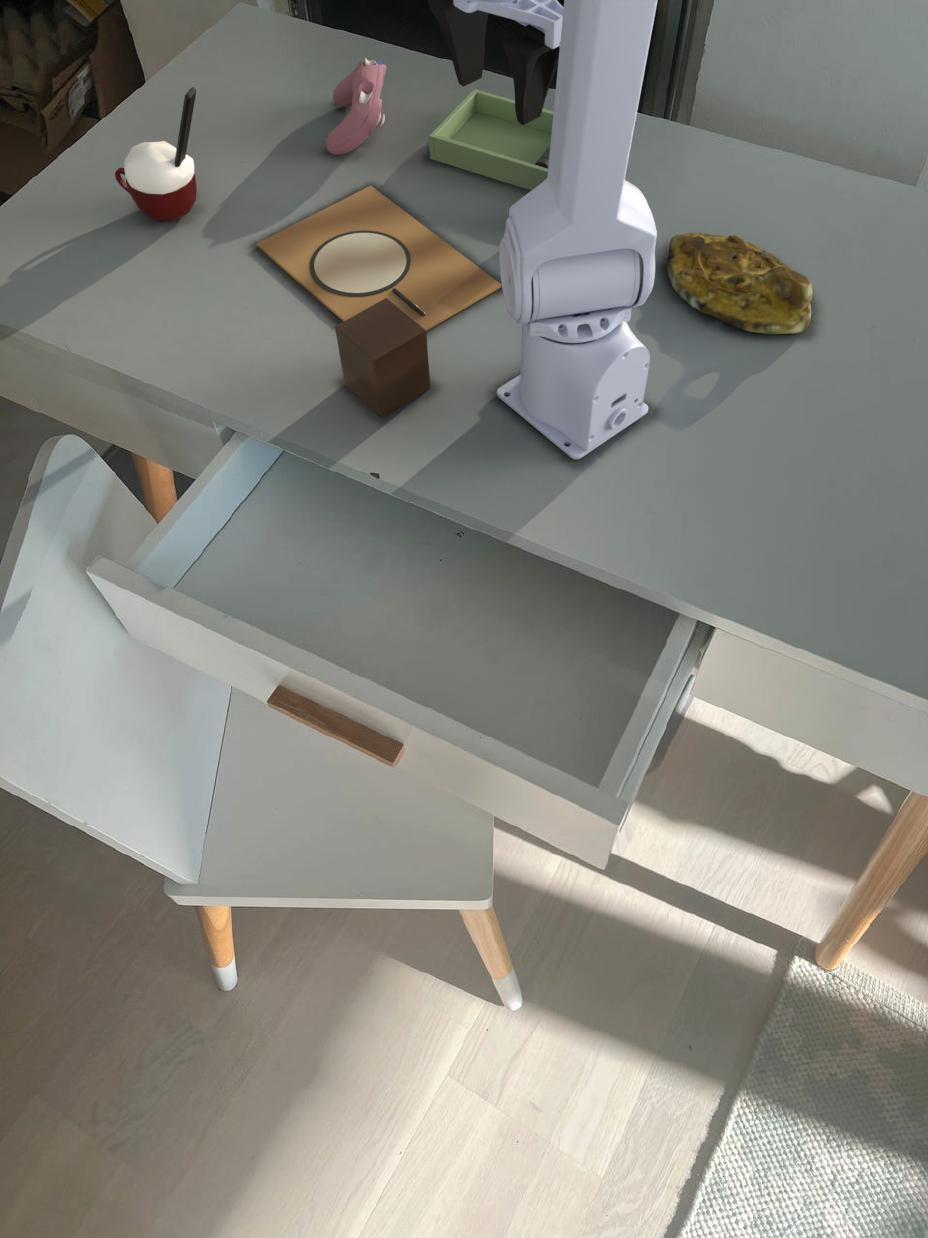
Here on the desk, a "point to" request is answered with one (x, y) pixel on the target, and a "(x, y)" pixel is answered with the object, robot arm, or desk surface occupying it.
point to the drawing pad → (377, 261)
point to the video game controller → (358, 107)
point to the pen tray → (493, 140)
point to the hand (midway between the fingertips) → (499, 99)
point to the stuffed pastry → (739, 283)
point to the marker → (544, 159)
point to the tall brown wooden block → (384, 356)
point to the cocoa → (162, 173)
